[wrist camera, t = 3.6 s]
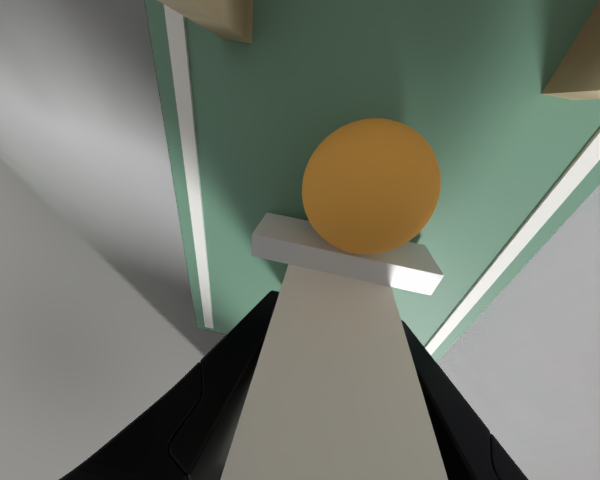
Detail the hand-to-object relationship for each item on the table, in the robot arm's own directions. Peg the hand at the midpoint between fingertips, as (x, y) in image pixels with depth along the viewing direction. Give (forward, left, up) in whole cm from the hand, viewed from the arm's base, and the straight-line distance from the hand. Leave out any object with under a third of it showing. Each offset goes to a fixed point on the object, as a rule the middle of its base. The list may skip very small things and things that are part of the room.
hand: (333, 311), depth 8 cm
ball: (+4, 0, -1) cm, 5 cm away
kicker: (-1, 0, -3) cm, 3 cm away
